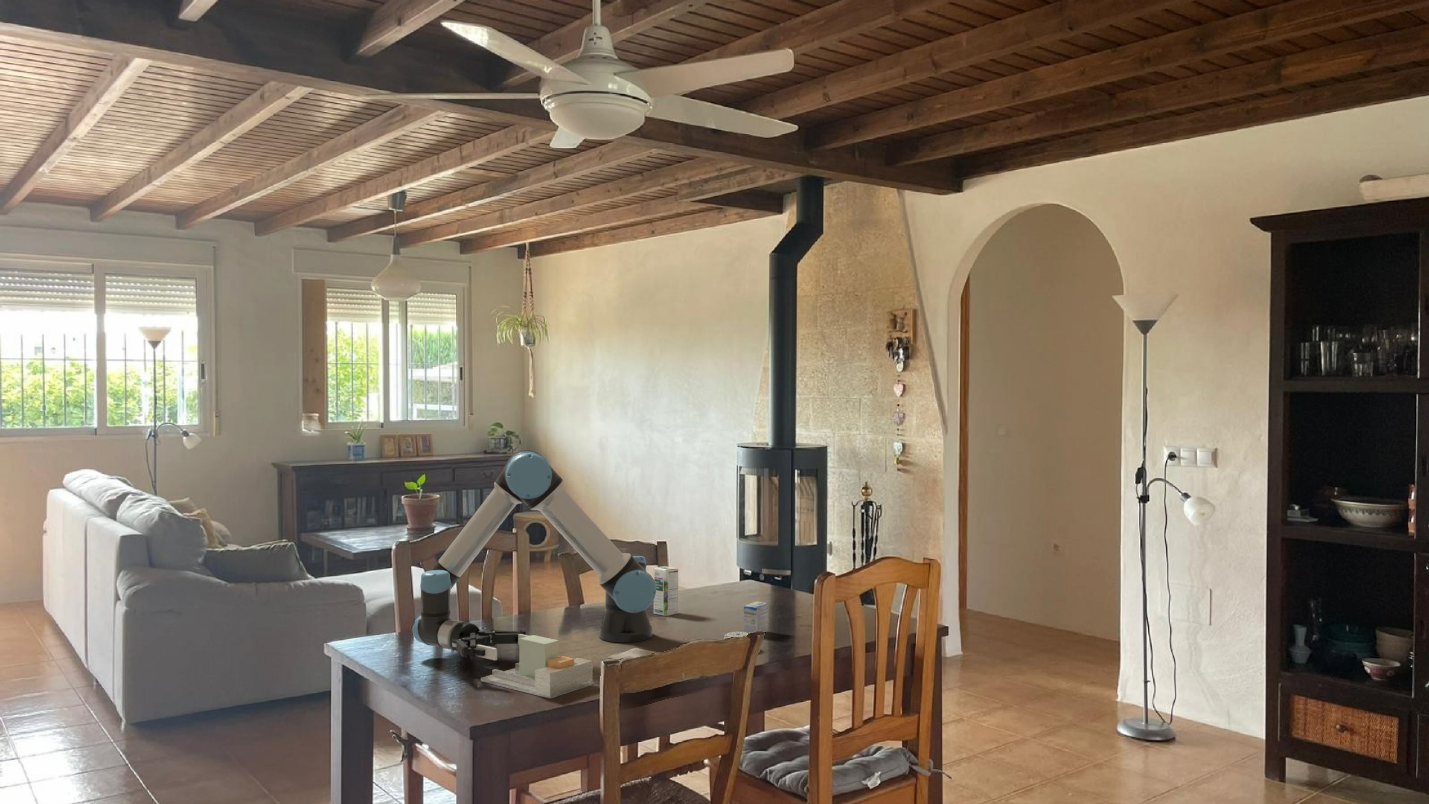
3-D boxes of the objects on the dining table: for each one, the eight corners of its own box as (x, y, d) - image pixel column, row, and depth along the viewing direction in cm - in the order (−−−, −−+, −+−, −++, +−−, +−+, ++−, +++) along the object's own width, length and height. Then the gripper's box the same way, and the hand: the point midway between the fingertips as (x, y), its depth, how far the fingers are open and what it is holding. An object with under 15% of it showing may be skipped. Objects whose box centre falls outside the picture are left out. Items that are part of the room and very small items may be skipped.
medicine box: (755, 630, 310) (755, 600, 310) (768, 632, 308) (768, 602, 308) (743, 636, 303) (743, 605, 303) (757, 637, 301) (757, 607, 301)
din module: (533, 675, 259) (533, 635, 259) (559, 681, 254) (558, 640, 254) (519, 679, 256) (519, 638, 256) (545, 686, 250) (544, 644, 250)
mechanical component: (758, 654, 283) (754, 645, 293) (758, 638, 283) (754, 629, 293) (721, 655, 282) (718, 646, 292) (721, 639, 282) (718, 630, 292)
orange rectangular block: (562, 680, 253) (562, 656, 253) (574, 683, 251) (574, 658, 251) (548, 685, 250) (548, 660, 250) (560, 688, 247) (560, 662, 247)
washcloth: (632, 656, 283) (632, 644, 283) (686, 666, 272) (686, 654, 272) (603, 666, 273) (603, 654, 273) (658, 676, 263) (658, 664, 262)
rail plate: (523, 668, 268) (523, 646, 268) (592, 684, 254) (592, 660, 254) (480, 681, 257) (480, 657, 257) (550, 698, 243) (550, 673, 243)
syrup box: (652, 613, 332) (652, 567, 332) (666, 610, 336) (666, 565, 336) (665, 616, 328) (665, 570, 328) (679, 613, 333) (679, 567, 332)
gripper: (497, 641, 282) (553, 653, 269) (420, 661, 262) (477, 675, 249) (496, 613, 282) (553, 624, 269) (420, 631, 262) (477, 643, 249)
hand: (517, 648), depth 259 cm, fingers open, 13 cm apart
